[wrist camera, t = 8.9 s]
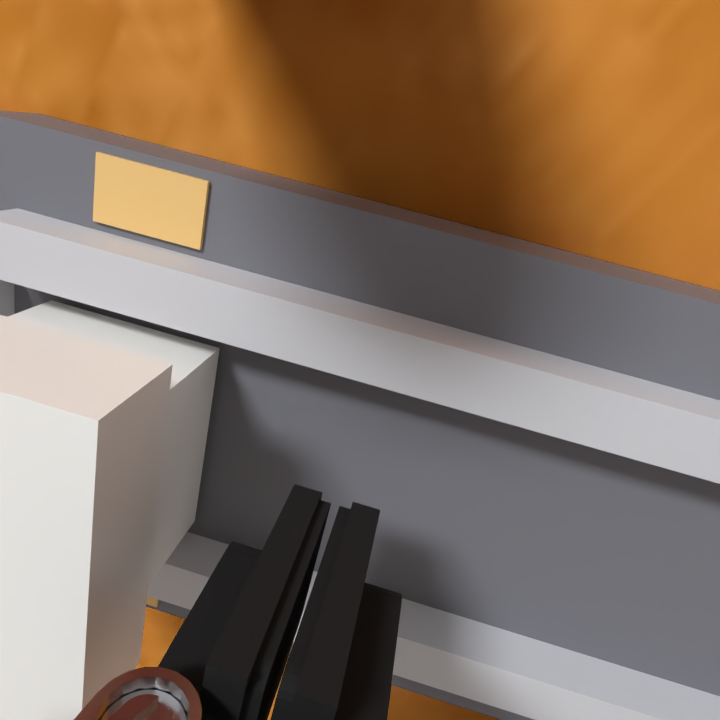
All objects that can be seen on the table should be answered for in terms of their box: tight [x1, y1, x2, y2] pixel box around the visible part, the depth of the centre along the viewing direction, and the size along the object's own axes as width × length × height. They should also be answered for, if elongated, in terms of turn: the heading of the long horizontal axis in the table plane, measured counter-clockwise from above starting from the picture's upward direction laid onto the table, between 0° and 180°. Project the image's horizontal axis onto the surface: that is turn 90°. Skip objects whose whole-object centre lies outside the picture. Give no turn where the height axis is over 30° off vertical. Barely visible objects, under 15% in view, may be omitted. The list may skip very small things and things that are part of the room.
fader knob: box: [0, 300, 220, 720], centre depth 11 cm, size 5×7×5 cm
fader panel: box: [0, 111, 720, 720], centre depth 13 cm, size 26×12×4 cm, turn 77°
